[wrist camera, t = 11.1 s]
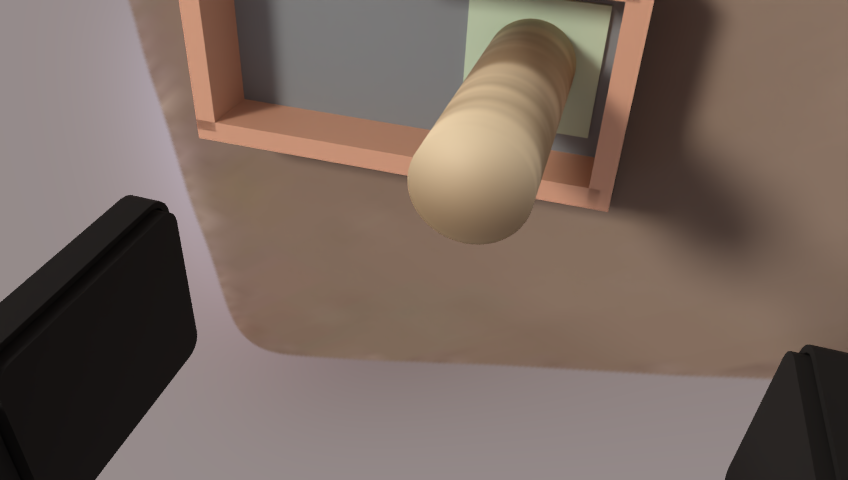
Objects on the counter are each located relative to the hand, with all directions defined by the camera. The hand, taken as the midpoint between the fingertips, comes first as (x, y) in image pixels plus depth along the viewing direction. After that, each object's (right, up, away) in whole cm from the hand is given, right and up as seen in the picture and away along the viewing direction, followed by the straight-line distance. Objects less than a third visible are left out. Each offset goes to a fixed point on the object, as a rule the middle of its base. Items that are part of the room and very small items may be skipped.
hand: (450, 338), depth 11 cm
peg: (+4, +9, +21) cm, 23 cm away
